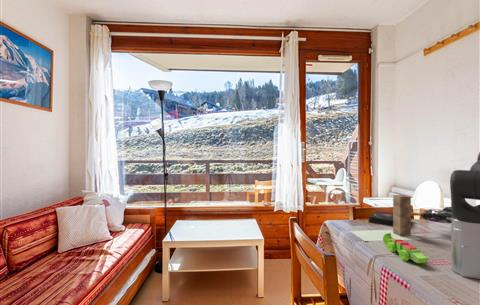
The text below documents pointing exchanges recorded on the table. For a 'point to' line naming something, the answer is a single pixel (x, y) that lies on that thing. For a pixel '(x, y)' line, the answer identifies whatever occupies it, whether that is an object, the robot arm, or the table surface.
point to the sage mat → (380, 235)
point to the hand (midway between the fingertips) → (422, 215)
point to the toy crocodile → (404, 249)
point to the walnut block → (402, 215)
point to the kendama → (420, 215)
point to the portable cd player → (382, 218)
